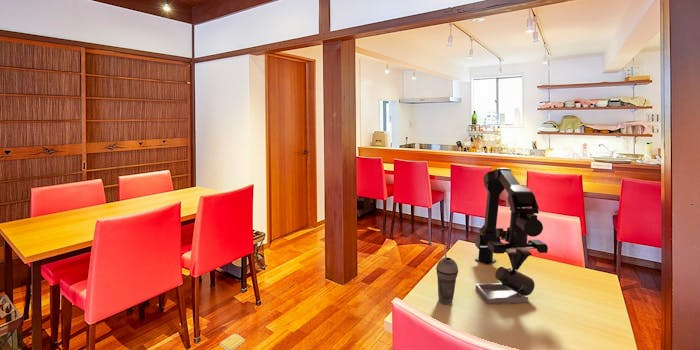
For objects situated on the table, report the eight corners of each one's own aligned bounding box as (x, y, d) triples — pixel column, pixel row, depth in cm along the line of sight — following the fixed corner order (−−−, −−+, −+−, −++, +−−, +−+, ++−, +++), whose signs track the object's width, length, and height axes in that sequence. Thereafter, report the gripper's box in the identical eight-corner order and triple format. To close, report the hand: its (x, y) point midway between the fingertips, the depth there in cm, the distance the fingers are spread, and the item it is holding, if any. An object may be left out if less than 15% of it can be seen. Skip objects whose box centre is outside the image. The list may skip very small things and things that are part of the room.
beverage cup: (453, 309, 116) (456, 251, 112) (431, 303, 120) (434, 247, 116) (459, 299, 122) (462, 244, 118) (438, 293, 126) (440, 240, 122)
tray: (511, 287, 130) (512, 282, 129) (527, 303, 120) (528, 297, 119) (475, 289, 129) (476, 283, 129) (488, 304, 119) (488, 298, 118)
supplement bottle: (531, 298, 120) (502, 284, 119) (518, 294, 127) (490, 281, 125) (537, 279, 122) (508, 264, 120) (524, 276, 128) (496, 263, 127)
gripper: (532, 219, 128) (528, 260, 131) (482, 220, 127) (479, 260, 130) (551, 229, 117) (546, 273, 120) (496, 229, 116) (492, 274, 119)
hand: (515, 269), depth 123 cm, fingers closed
